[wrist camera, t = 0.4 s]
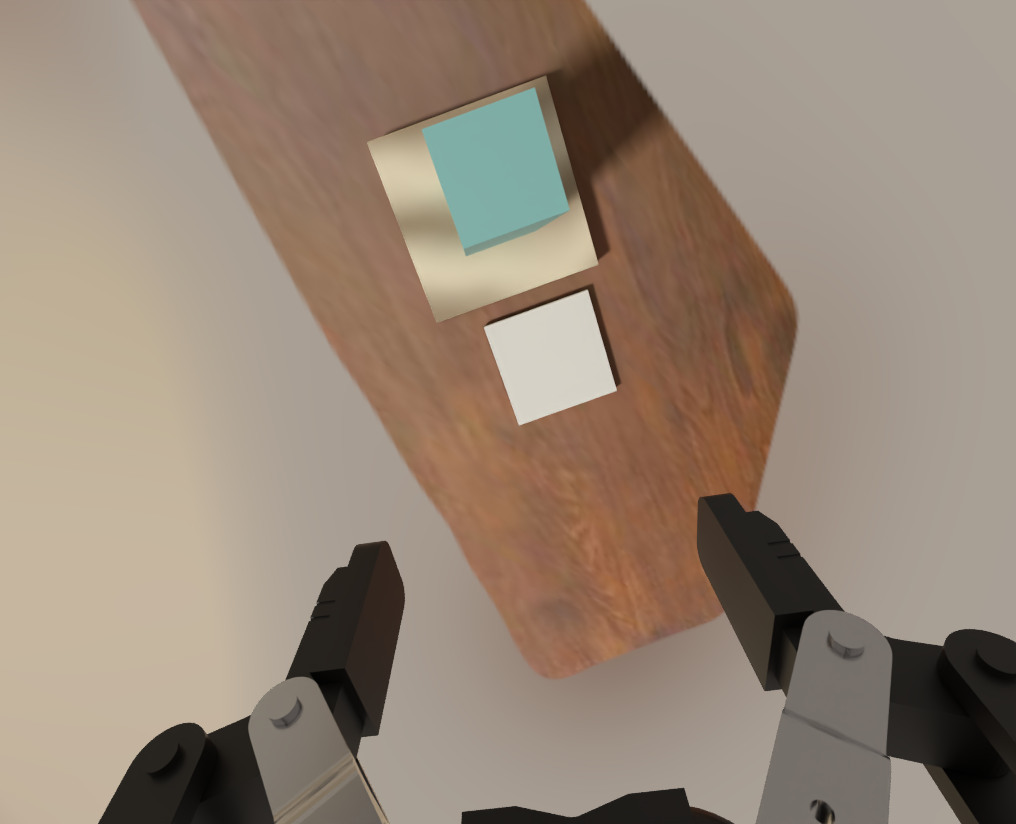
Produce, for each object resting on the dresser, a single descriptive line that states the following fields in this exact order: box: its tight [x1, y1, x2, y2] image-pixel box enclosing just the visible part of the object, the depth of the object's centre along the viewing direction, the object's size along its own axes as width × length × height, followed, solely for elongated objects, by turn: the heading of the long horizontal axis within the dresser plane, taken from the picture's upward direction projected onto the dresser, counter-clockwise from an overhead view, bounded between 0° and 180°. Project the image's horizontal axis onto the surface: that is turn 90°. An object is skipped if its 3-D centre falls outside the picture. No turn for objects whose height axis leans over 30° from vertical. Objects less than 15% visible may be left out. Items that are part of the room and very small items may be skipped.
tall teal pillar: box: [421, 87, 570, 256], centre depth 27 cm, size 5×5×12 cm
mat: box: [484, 290, 617, 425], centre depth 37 cm, size 8×8×1 cm
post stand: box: [367, 76, 599, 323], centre depth 31 cm, size 12×12×6 cm
